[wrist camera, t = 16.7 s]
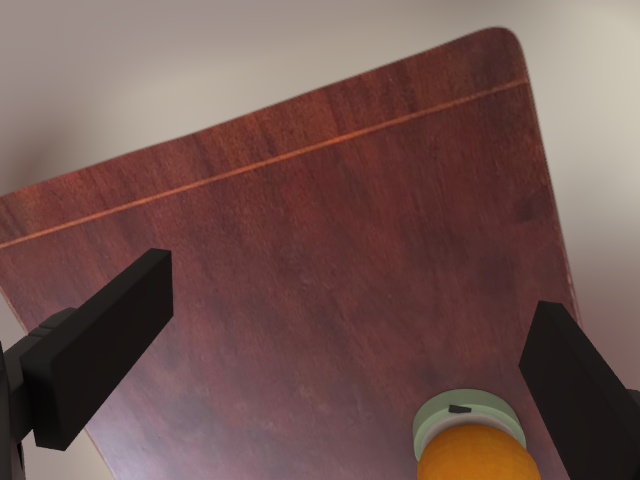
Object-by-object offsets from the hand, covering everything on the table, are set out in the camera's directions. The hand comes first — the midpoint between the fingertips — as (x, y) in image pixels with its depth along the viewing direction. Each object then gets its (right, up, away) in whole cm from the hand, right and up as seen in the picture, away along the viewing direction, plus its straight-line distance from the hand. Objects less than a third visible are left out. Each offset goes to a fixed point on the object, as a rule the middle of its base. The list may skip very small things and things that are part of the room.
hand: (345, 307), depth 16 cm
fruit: (+15, -20, +32) cm, 40 cm away
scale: (+15, -19, +34) cm, 42 cm away
